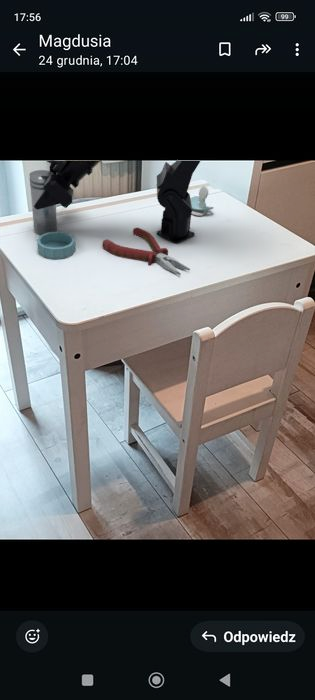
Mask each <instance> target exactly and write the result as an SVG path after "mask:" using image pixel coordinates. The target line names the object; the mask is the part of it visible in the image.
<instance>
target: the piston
mask: <svg viewBox="0 0 315 700" xmlns="http://www.w3.org/2000/svg"><path fill="white" fill-rule="evenodd" d="M51 175H54V173H53V172H51V171H50V170H46V169H39V170H38V169H37V170H33V171H31V172H30V173H29V186H30V196H31V197H30V198H31V208H32V209H31V210H32V222H33V232H34V233H35V234H37V235H39V236H40V235H43V234H45V233H48V232H58V220H57V205H53V206H49V207H46V208H42V209H39V210H37V209H36V208H34V205H35V203H36V202H37V200H38V199H39V197H40V196H41V195H42V193H43V192H44V190H45V189H44V187H43V186H44V182H45V179H48V178H49V177H50V176H51Z"/></svg>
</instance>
